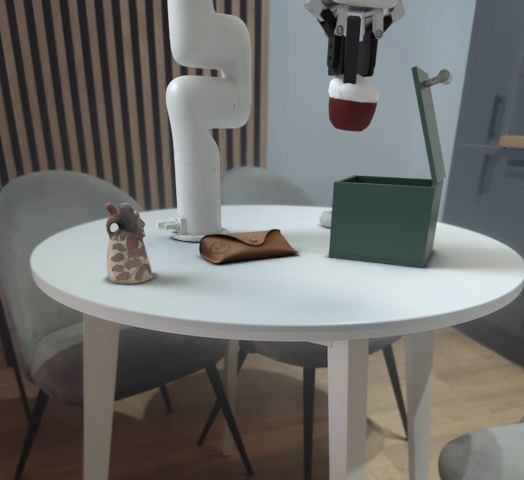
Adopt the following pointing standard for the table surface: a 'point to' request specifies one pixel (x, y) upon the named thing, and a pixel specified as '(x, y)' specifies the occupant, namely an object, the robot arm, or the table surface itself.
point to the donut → (326, 218)
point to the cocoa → (352, 88)
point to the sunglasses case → (244, 246)
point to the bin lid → (430, 118)
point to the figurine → (126, 246)
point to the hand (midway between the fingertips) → (350, 74)
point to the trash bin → (384, 219)
